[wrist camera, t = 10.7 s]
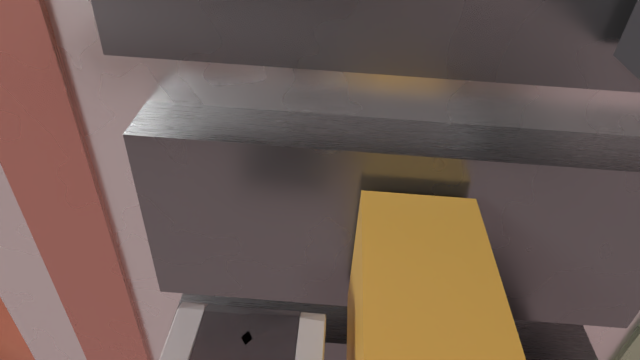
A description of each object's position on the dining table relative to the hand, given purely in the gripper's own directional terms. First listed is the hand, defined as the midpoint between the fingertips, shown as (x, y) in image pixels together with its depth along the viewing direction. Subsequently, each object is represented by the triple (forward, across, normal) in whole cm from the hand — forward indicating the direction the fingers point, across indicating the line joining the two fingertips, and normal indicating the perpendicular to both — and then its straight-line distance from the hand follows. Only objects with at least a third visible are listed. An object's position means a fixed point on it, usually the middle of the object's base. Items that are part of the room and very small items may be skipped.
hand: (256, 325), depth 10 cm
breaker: (+2, -3, 0) cm, 4 cm away
